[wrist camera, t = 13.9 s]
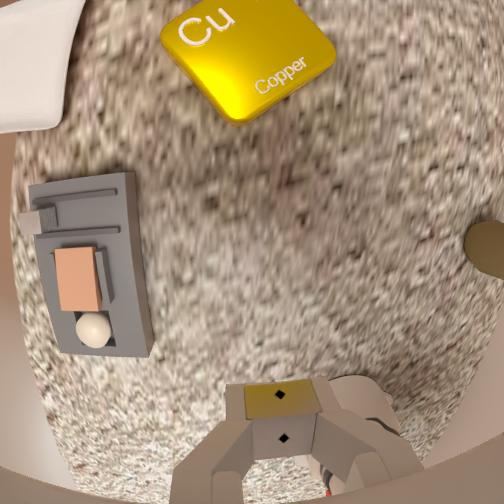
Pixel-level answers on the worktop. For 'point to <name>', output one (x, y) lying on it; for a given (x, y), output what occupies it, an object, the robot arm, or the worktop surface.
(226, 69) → the element tile
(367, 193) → the worktop surface
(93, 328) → the push button
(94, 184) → the control panel
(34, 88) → the salad plate
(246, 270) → the worktop surface
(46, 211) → the slider lever
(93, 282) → the rocker switch
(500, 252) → the squeeze bottle
